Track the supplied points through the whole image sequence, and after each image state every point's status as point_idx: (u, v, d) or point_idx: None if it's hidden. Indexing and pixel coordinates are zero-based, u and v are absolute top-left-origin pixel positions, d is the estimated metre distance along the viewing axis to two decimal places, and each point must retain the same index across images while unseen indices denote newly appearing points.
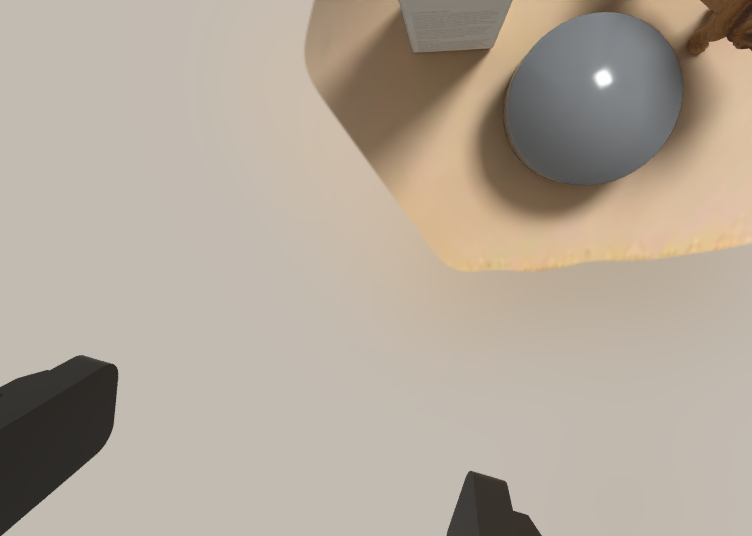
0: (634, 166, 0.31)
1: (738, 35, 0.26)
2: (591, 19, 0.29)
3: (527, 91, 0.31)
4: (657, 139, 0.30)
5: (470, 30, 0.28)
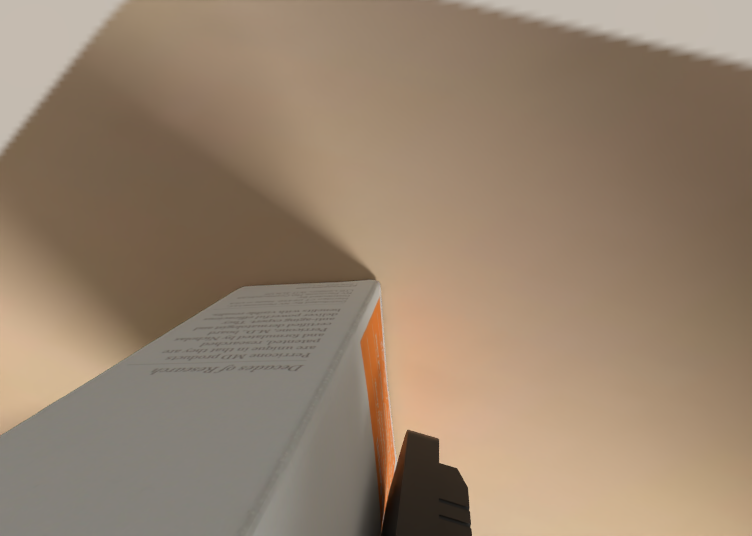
0: None
1: None
2: None
3: None
4: None
5: None
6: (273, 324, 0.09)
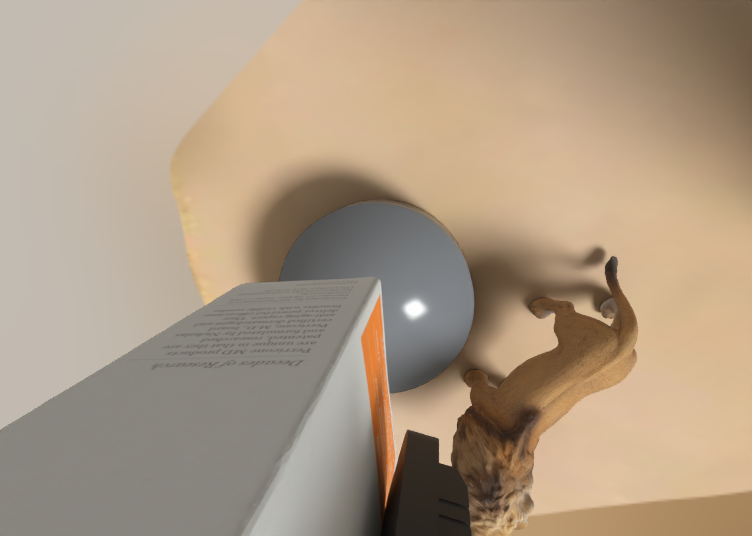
0: None
1: (465, 419, 0.23)
2: (465, 286, 0.24)
3: (379, 223, 0.24)
4: None
5: None
6: (274, 319, 0.09)
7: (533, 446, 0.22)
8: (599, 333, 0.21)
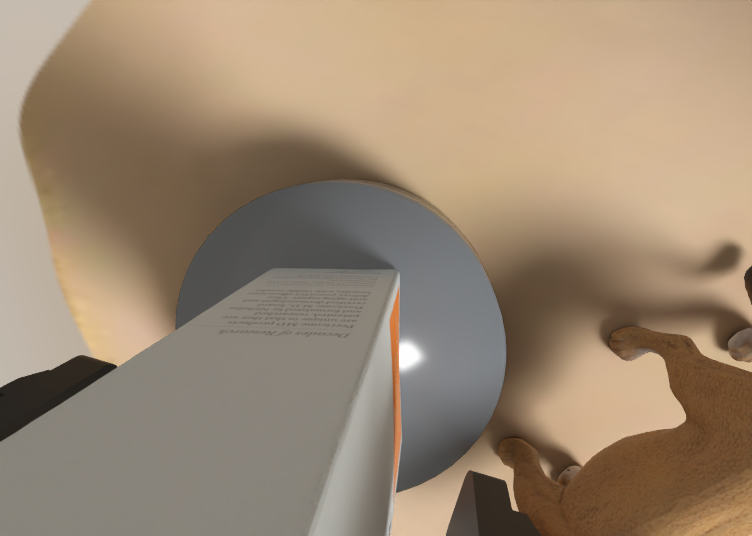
0: None
1: None
2: (492, 331, 0.14)
3: (343, 218, 0.14)
4: None
5: None
6: (313, 300, 0.10)
7: None
8: None
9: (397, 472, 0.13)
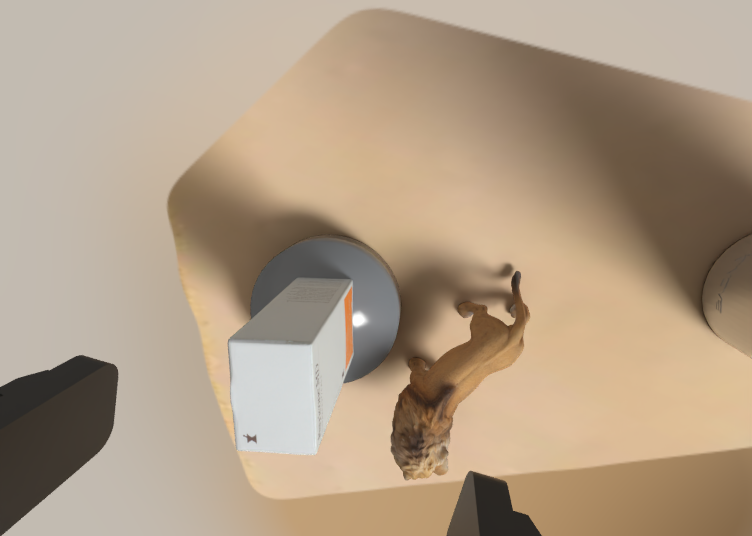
0: None
1: (403, 394, 0.31)
2: (392, 306, 0.32)
3: (329, 256, 0.32)
4: None
5: None
6: (316, 291, 0.29)
7: (450, 412, 0.30)
8: (496, 329, 0.29)
9: (349, 363, 0.31)
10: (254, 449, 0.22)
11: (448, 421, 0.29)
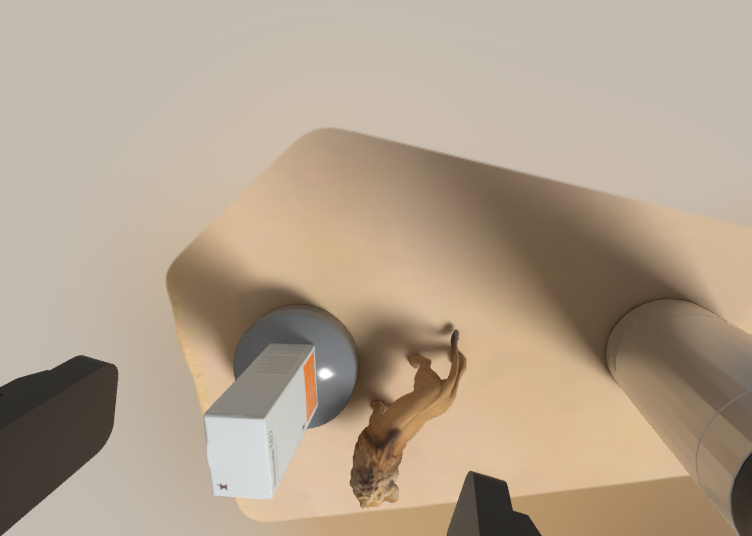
0: None
1: (360, 435, 0.38)
2: (348, 366, 0.39)
3: (295, 326, 0.39)
4: None
5: None
6: (281, 360, 0.36)
7: (397, 451, 0.36)
8: (430, 384, 0.35)
9: (311, 414, 0.38)
10: (225, 494, 0.29)
11: (395, 459, 0.36)
